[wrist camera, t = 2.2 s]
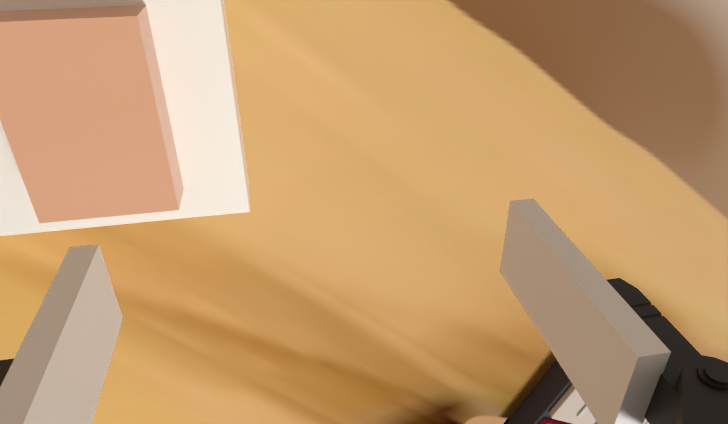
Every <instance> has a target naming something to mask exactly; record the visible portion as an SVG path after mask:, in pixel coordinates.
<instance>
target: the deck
mask: <svg viewBox="0 0 728 424" xmlns="http://www.w3.org/2000/svg"><path fill="white" fill-rule="evenodd" d="M141 5H146V7H147V12H148V17H149V21H150V26H151V31H152V36H153V41H154V46H155V51H156V55H157V60H158V65H159V70H160V75H161V80H162V84H163V89H164V94H165V99H166V104H167V109H168V114H169V118H170V123H171V128H172V133H173V138H174V143H175V147H176V152H177V157H178V162H179V167H180V172H181V177H182V181H183V186H184V190H183V194H182V199H181V204H180V208H179V210H175V211H164V212H154V213H143V214H132V215H122V216H111V217H101V218H90V219H80V220H69V221H59V222H48V223H39V221H38V219H37V216H36V213H35V211H34V208H33V205H32V203H31V200H30V198H29V195H28V192H27V190H26V187H25V184H24V182H23V179H22V176H21V174H20V171H19V168H18V166H17V163H16V161H15V158H14V155H13V153H12V150H11V147H10V145H9V142H8V139H7V137H6V134H5V132H4V129H3V126H2V124H1V121H0V236H6V235H16V234H26V233H36V232H47V231H57V230H67V229H78V228H88V227H98V226H108V225H119V224H129V223H139V222H149V221H160V220H170V219H180V218H191V217H201V216H211V215H221V214H232V213H242V212H250V187H249V179H248V172H247V165H246V157H245V150H244V142H243V135H242V127H241V120H240V112H239V105H238V98H237V90H236V83H235V75H234V68H233V60H232V53H231V45H230V38H229V31H228V23H227V16H226V8H225V1H224V0H0V11H18V10H43V9H67V8H92V7H116V6H141Z"/></svg>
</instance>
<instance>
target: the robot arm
mask: <svg viewBox="0 0 728 424" xmlns="http://www.w3.org/2000/svg"><path fill="white" fill-rule="evenodd" d="M500 272H501V274H502V275H503V277H504V278H505V280H506V282H507V283H508V285H509V286H510V288H511V289H512V291H513V292H514V294H515V296H516V297H517V299H518V300H519V302H520V303H521V305H522V306H523V308H524V310H525V311H526V313H527V314H528V316H529V317H530V319H531V320H532V322H533V324H534V325H535V327H536V328H537V330H538V331H539V333H540V334H541V336H542V338H543V339H544V341H545V342H546V344H547V345H548V347H549V348H550V350H551V351H552V353H553V355H554V356H555V358H556V359H557V361H558V362H559V364H560V365H561V367H562V369H563V370H564V372H565V373H566V375H567V376H568V378H569V379H570V381H571V383H572V384H573V386H574V387H575V389H576V390H577V392H578V393H579V395H580V397H581V398H582V400H583V401H584V403H585V404H586V406H587V407H588V409H589V411H590V412H591V414H592V415H593V417H594V418H595V420H596V421H597V423H598V424H643V422H644V420H645V419H646V420H647V421H648V423H649V424H728V363H727V362H724V361H722V360H719V359H717V358H714V357H708V356H702V355H701V354H700V353H699V352H698V351H697V350H696V349H695V348H694V347H693V346H692V345H691V344H690V343H689V342H688V341H687V340H686V339H685V338H684V337H683V336H682V335H681V334H680V332H679V331H678V330H677V329H676V328H675V327H674V326H673V325H672V324H671V323H670V322H669V321H668V320H667V319H666V318H665V317H664V316H661V313H660V312H659V311H658V310H657V308H656V307H655V306H654V305H651V302H650V301H649V300H648V299H647V298H646V297H645V296H644V295H643V294H642V293H641V292H640V291H639V290H638V289H637V288H635V287H634V286H632V285H630V284H629V283H627V282H625V281H624V280H622V279H620V278H617V279H609V280H606V279H605V278H604V277H603V276H602V275H601V273H600V272H599V271H598V270H597V269H596V268H595V267H594V266H593V265H592V263H591V262H590V261H589V260H588V259H587V258H586V257H585V256H584V255H583V253H582V252H581V251H580V250H579V249H578V248H577V247H576V246H575V245H574V243H573V242H572V241H571V240H570V239H569V238H568V237H567V236H566V235H565V233H564V232H563V231H562V230H561V229H560V228H559V227H558V226H557V225H556V223H555V222H554V221H553V220H552V219H551V218H550V217H549V216H548V215H547V213H546V212H545V211H544V210H543V209H542V208H541V207H540V206H539V205H538V203H537V202H536V201H535V200H534V199H525V200H516V201H510V206H509V213H508V220H507V227H506V233H505V240H504V247H503V254H502V260H501V267H500ZM122 320H123V317H122V314H121V311H120V308H119V305H118V302H117V299H116V295H115V292H114V289H113V286H112V283H111V280H110V277H109V274H108V271H107V268H106V265H105V262H104V259H103V255H102V252H101V249H100V246H99V244H97V245H88V246H78V247H70V248H69V250H68V252H67V254H66V256H65V258H64V260H63V262H62V264H61V266H60V268H59V270H58V272H57V274H56V276H55V278H54V280H53V282H52V284H51V286H50V288H49V290H48V292H47V294H46V296H45V298H44V300H43V302H42V304H41V306H40V308H39V310H38V312H37V314H36V316H35V318H34V320H33V322H32V324H31V326H30V328H29V330H28V332H27V334H26V336H25V338H24V340H23V342H22V344H21V346H20V348H19V350H18V352H17V354H16V356H15V358H14V359H8V360H0V424H92V421H93V418H94V415H95V411H96V408H97V404H98V401H99V398H100V394H101V391H102V387H103V384H104V381H105V377H106V374H107V370H108V367H109V364H110V360H111V357H112V354H113V350H114V347H115V343H116V340H117V337H118V333H119V330H120V326H121V323H122Z"/></svg>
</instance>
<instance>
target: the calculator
mask: <svg viewBox="0 0 728 424" xmlns="http://www.w3.org/2000/svg"><path fill="white" fill-rule="evenodd" d="M504 424H598V423H597V421H596V420H595V418H594V417H593V415H592V414H591V412H590V411H589V409H588V407H587V406H586V404H585V403H584V401H583V400H582V398H581V397H580V395H579V393H578V392H577V390H576V389H575V387H574V386H573V384H572V383H571V381H570V379H569V378H568V376H567V375H566V373H565V372H564V370H563V369H562V367H561V365H560V364H559V362H558V361H556V362H555V363H554V365H553V366H552V367H551V368H550V370H549V371H548V372H547V373H546V375H545V376H544V377H543V379H542V380H541V381H540V382H539V384H538V385H537V386H536V387H535V389H534V390H533V391H532V392H531V394H530V395H529V396H528V397H527V399H526V400H525V401H524V402H523V404H522V405H521V406H520V407H519V409H518V410H517V411H516V412H515V414H514V415H513V416H512V417H511V419H507V420H506V421H505V422H504ZM643 424H649V423H648V421H647V420H646V419H645V420H644V422H643Z"/></svg>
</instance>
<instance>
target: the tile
mask: <svg viewBox="0 0 728 424" xmlns="http://www.w3.org/2000/svg"><path fill="white" fill-rule="evenodd" d="M0 121H1V124H2V126H3V129H4V132H5V134H6V137H7V139H8V142H9V145H10V147H11V150H12V153H13V155H14V158H15V161H16V163H17V166H18V168H19V171H20V174H21V176H22V179H23V182H24V184H25V187H26V190H27V192H28V195H29V198H30V200H31V203H32V205H33V208H34V211H35V213H36V216H37V219H38V221H39V223H48V222H59V221H69V220H80V219H90V218H101V217H111V216H122V215H132V214H143V213H154V212H164V211H175V210H179V208H180V204H181V199H182V194H183V190H184V186H183V181H182V177H181V172H180V167H179V162H178V157H177V152H176V147H175V143H174V138H173V133H172V128H171V123H170V118H169V114H168V109H167V104H166V99H165V94H164V89H163V84H162V80H161V75H160V70H159V65H158V60H157V55H156V51H155V46H154V41H153V36H152V31H151V26H150V21H149V17H148V12H147V7H146V5H141V6H116V7H92V8H67V9H43V10H18V11H0Z"/></svg>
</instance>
